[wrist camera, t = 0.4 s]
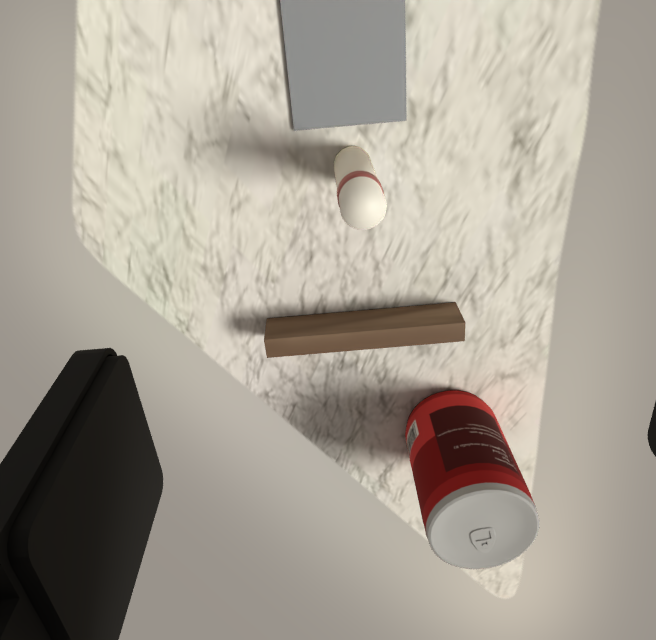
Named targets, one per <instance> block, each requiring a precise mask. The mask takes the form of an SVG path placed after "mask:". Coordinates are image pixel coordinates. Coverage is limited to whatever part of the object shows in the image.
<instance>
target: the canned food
mask: <svg viewBox="0 0 656 640" xmlns="http://www.w3.org/2000/svg"><path fill="white" fill-rule="evenodd" d="M405 437H406V444H407V448H408V453H409V458H410V462H411V467H412V472H413V477H414V481H415V486H416V491H417V495H418V500H419V505H420V509H421V514H422V519H423V524H424V527H425V531H426V536H427V538H428V541H429V544H430V546H431V549H432V550H433V551H434V553H435V554H436V555H437V556H438V557H439V558H440V559H441V560H443V561H444V562H446V563H448V564H450V565H453V566H456V567H460V568H466V569H485V568H492V567H496V566H499V565H502V564H505V563H507V562H510V561H512V560H513V559H515V558H517V557H518V556H520V555H521V554H522V553H524V552H525V551H526V550H527V549H528V548H529V547H530V546H531V544H532V543H533V541H534V540H535V538H536V536H537V533H538V530H539V517H538V513H537V510H536V506H535V504H534V502H533V499H532V497H531V494H530V492H529V490H528V487H527V485H526V483H525V481H524V479H523V476H522V474H521V472H520V470H519V468H518V465H517V463H516V461H515V459H514V456H513V454H512V452H511V450H510V448H509V445H508V443H507V441H506V439H505V437H504V434H503V432H502V430H501V428H500V426H499V423H498V421H497V419H496V417H495V415H494V413H493V411H492V410H491V408H490V407H489V406H488V405H487V404H486V403H485V402H484V401H482V400H481V399H480V398H478V397H477V396H475V395H473V394H471V393H468V392H464V391H456V390H450V391H443V392H439V393H436V394H433V395H431V396H429V397H427V398H425V399H424V400H423V401H421V402H420V403H419V404H418V405H417V406H416V407H415V408H414V409H413V411H412V413H411V414H410V416H409V419H408V422H407V426H406V434H405Z"/></svg>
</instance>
